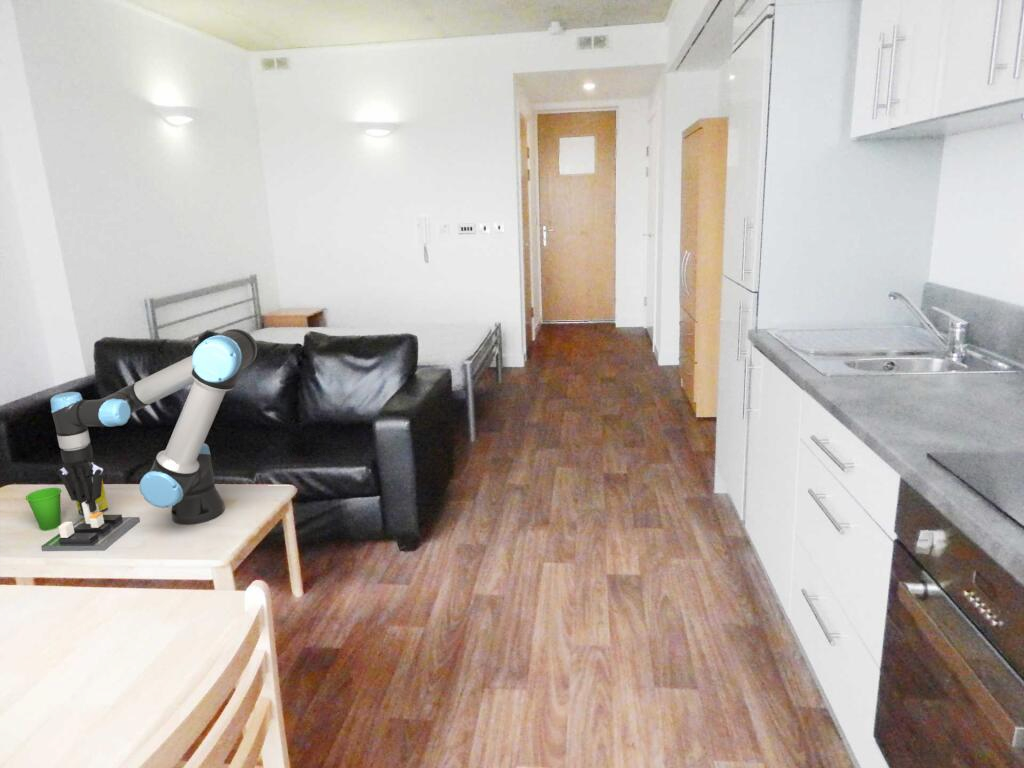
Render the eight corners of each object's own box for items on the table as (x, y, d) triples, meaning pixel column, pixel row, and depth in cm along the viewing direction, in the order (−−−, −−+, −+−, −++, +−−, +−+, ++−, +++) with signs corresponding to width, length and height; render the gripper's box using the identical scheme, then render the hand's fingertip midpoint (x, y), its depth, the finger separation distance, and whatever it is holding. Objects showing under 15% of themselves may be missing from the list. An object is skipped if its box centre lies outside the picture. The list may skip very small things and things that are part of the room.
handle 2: (100, 514, 206) (97, 503, 205) (93, 518, 203) (91, 508, 202) (93, 514, 206) (91, 503, 205) (87, 518, 203) (85, 508, 203)
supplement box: (78, 514, 214) (71, 482, 211) (95, 507, 219) (89, 475, 216) (91, 517, 212) (84, 485, 209) (108, 509, 217) (102, 478, 214)
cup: (50, 534, 201) (43, 500, 198) (25, 532, 203) (17, 499, 200) (75, 521, 209) (68, 488, 207) (50, 519, 211) (43, 486, 208)
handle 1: (74, 532, 195) (72, 521, 194) (67, 537, 192) (65, 526, 191) (67, 532, 195) (65, 521, 194) (60, 537, 192) (58, 526, 191)
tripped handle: (104, 523, 200) (102, 511, 199) (98, 527, 197) (95, 516, 196) (97, 523, 200) (95, 512, 199) (91, 527, 197) (89, 516, 197)
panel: (139, 521, 208) (138, 512, 207) (104, 550, 191) (102, 540, 190) (82, 522, 209) (80, 513, 208) (42, 551, 191) (40, 541, 191)
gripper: (105, 441, 196) (120, 515, 202) (62, 442, 196) (77, 516, 202) (89, 450, 189) (105, 527, 195) (44, 451, 189) (61, 527, 195)
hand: (91, 521), depth 199 cm, fingers closed
